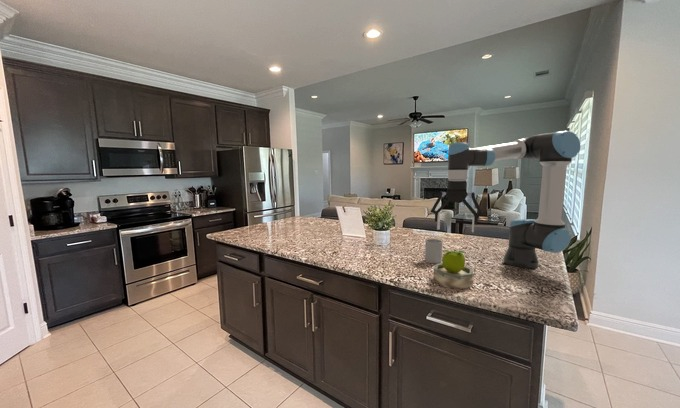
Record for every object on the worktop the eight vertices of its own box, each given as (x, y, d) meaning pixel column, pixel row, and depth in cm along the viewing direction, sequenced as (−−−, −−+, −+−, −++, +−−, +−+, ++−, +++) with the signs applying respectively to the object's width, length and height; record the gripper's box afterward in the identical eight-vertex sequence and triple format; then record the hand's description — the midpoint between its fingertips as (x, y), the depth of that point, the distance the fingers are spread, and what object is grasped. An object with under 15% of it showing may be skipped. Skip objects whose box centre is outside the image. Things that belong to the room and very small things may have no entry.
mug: (438, 264, 146) (439, 243, 144) (422, 261, 151) (423, 241, 149) (445, 258, 155) (446, 239, 154) (430, 256, 160) (431, 237, 159)
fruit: (463, 277, 117) (464, 253, 116) (439, 273, 122) (440, 250, 121) (466, 270, 125) (467, 248, 124) (444, 267, 130) (445, 245, 129)
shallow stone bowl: (473, 277, 128) (473, 265, 127) (472, 291, 113) (473, 278, 113) (435, 272, 135) (436, 261, 134) (431, 284, 120) (431, 272, 120)
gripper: (490, 180, 117) (487, 231, 119) (427, 179, 128) (426, 226, 130) (491, 181, 110) (488, 234, 113) (425, 180, 121) (423, 229, 123)
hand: (455, 230), depth 121 cm, fingers open, 13 cm apart
